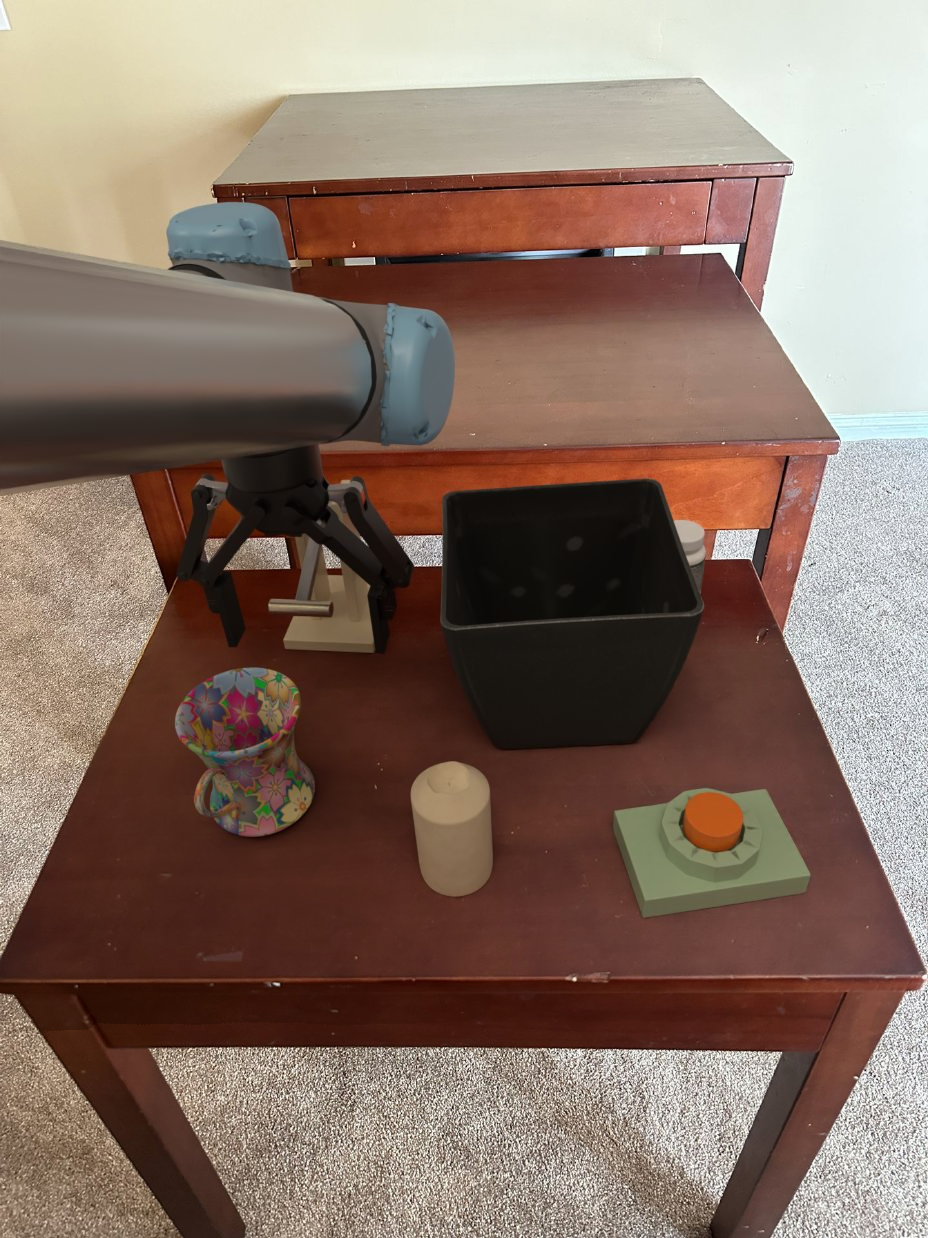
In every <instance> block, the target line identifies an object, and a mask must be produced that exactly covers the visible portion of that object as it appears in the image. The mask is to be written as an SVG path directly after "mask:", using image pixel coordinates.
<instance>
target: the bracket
mask: <svg viewBox="0 0 928 1238" xmlns="http://www.w3.org/2000/svg"><path fill="white" fill-rule="evenodd" d="M350 480H351V479H341V481H340V483H339V484H344V483H349V482H350ZM331 509H332V510H334V511H335V512H336V513H337V515H338V517H339V520H340V521H341V522H342V523H343V524H344V525H345V526H346V527H347V528H348V529H350V530H351V531H352V532H353V533H354V534H355V535H356V536H357V537H358V538H359V539H361V535H360V534H359V532H358V531H357V530H356V528H355V527H354V525H353V524H352V522H351V520H350V518H349V516H348V513H343V512H342V511H341V508H340V507H339V505H338V504H337V503H336V502H333V501H332V503H331ZM294 539H295V545H296V549H297V554H298V559H299V564H300V569H301V571H302V567H303V563H304V558H305V554H306V550H307V545H308V541H309V536H308V535H306V534H303V535H302V537H294ZM339 562H340V563H339V564H340V568H341V575H337V574H335V575H334V574H328V569H327V564H326V559H325V553H324V547H323V546H322V550H321V555H320V560H319V564H318V569H317V574H316V578H315V583H314V587H313V592H312V597H311V600H317V601H332V602H333V606H334V611H333V616H332V617H304V616H292V619H291V621H290V623H289V626H288V627H287V630H286V633H285V635H284V637H283V639H282V641H283V646H284V649H285V650H300V651H318V652H319V651H321V652H340V653H341V652H344V653H345V652H346V653H363V654H364V653H365V654H368V653H369V654H374V653H375V645H374V638H373V631H372V625H371V618H370V611H369V604H368V598H367V594H368V591H369V588H370V585H369V584H368V583H366V582H365V581H364V580H363V579H362V578H361V577H360V576H359V575H357V574H356V573H355V572H354V571H353V570H352V569H351V568H349V567H348V566H347V565H346V564H345V563H344V562H343V561H341V560H340V559H339Z"/></svg>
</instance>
